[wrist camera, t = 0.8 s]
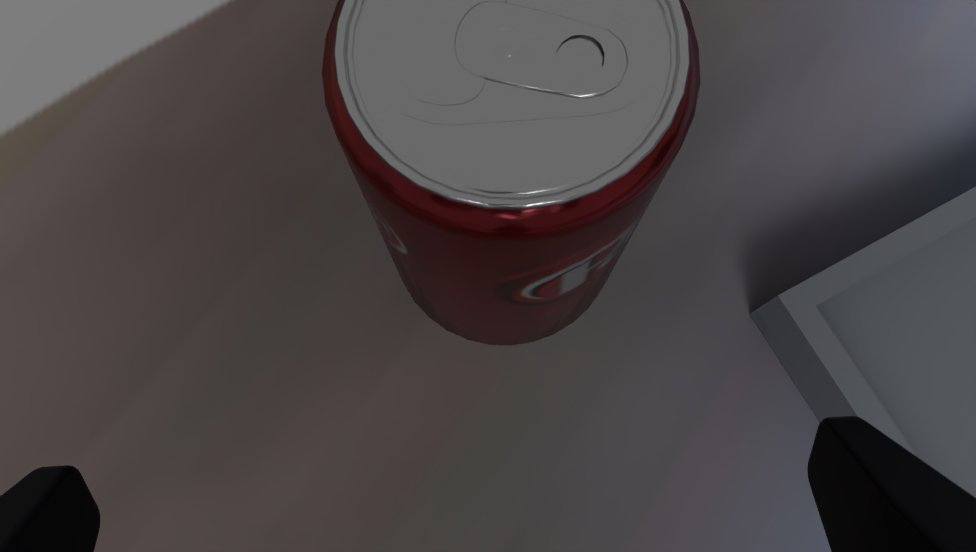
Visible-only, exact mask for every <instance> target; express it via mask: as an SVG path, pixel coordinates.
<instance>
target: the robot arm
mask: <svg viewBox="0 0 976 552" xmlns="http://www.w3.org/2000/svg"><path fill="white" fill-rule="evenodd" d="M808 478H809V483H810V486H811V490H812V493H813V496H814V499H815V502H816V505H817V508H818V511H819V514H820V517H821V520H822V523H823V527H824V530H825V533H826V536H827V539H828V542H829V545H830V548H831V551H832V552H976V497H974V496H973V495H971V494H970V493H968V492H967V491H965V490H964V489H963V488H961V487H960V486H958V485H957V484H955V483H954V482H953V481H951V480H950V479H948V478H947V477H945V476H944V475H943V474H941V473H940V472H938V471H937V470H935V469H934V468H933V467H931V466H930V465H928V464H927V463H925V462H924V461H923V460H921V459H920V458H918V457H917V456H915V455H914V454H913V453H911V452H910V451H908V450H907V449H905V448H904V447H903V446H901V445H900V444H898V443H897V442H895V441H894V440H892V439H891V438H890V437H888V436H887V435H885V434H884V433H882V432H881V431H880V430H878V429H877V428H875V427H874V426H872V425H871V424H870V423H868V422H867V421H865V420H864V419H862V418H860V417H857V416H840V417H827V418H824V419H823V420H822V421H821V422H820V424H819V426H818V430H817V433H816V437H815V440H814V444H813V447H812V451H811V454H810V458H809V462H808ZM99 528H100V513H99V509H98V506H97V504H96V502H95V500H94V498H93V496H92V495H91V493H90V491H89V489H88V487H87V485H86V483H85V481H84V479H83V477H82V475H81V473H80V472H79V470H78V469H76V468H75V467H73V466H69V465H66V466H50V467H41V468H38V469H36V470H34V471H32V472H31V473H29V474H28V475H27V476H25V477H24V478H23V479H22V480H20V481H19V482H18V483H17V484H15V485H14V486H13V487H12V488H10V489H9V490H8V491H6V492H5V493H4V494H3V495H1V496H0V552H94V548H95V545H96V541H97V537H98V533H99Z"/></svg>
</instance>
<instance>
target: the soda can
mask: <svg viewBox="0 0 976 552" xmlns="http://www.w3.org/2000/svg"><path fill="white" fill-rule="evenodd" d="M322 77H323V86H324V94H325V103H326V107H327V110H328V113H329V116H330V119H331V122H332V124H333V127H334V130H335V133H336V136H337V138H338V141H339V143H340V145H341V147H342V149H343V152H344V154H345V156H346V158H347V160H348V163H349V165H350V167H351V169H352V171H353V174H354V176H355V178H356V180H357V182H358V185H359V187H360V189H361V191H362V193H363V196H364V198H365V200H366V202H367V204H368V207H369V209H370V211H371V213H372V215H373V218H374V220H375V222H376V224H377V226H378V228H379V231H380V233H381V235H382V237H383V239H384V242H385V244H386V246H387V248H388V250H389V253H390V255H391V257H392V259H393V261H394V264H395V266H396V268H397V270H398V272H399V275H400V277H401V279H402V281H403V283H404V285H405V287H406V288H407V290H408V292H409V293H410V295H411V297H412V298H413V300H414V302H415V303H416V304H417V305H418V306H419V307H420V308H421V309H422V310H423V311H424V312H425V313H426V315H427V316H428V317H429V318H431V319H432V320H433V321H435V322H436V323H438V324H439V325H440V326H442V327H443V328H445V329H446V330H448V331H450V332H452V333H454V334H456V335H459V336H461V337H463V338H465V339H467V340H472V341H476V342H480V343H485V344H489V345H516V344H523V343H529V342H534V341H537V340H539V339H542V338H545V337H547V336H550V335H553V334H555V333H557V332H558V331H560V330H562V329H563V328H565V327H566V326H568V325H570V324H571V323H573V322H574V321H575V320H576V319H577V318H578V317H579V316H580V315H581V314H583V313H584V312H585V311H586V310H587V309H588V308H589V307H590V305H591V304H592V302H593V301H594V300H595V298H596V297H597V295H598V294H599V292H600V291H601V289H602V288H603V286H604V284H605V282H606V281H607V279H608V277H609V275H610V273H611V272H612V270H613V268H614V266H615V264H616V263H617V261H618V259H619V257H620V255H621V254H622V252H623V250H624V248H625V247H626V245H627V243H628V241H629V239H630V238H631V236H632V234H633V232H634V230H635V229H636V227H637V225H638V223H639V221H640V220H641V218H642V216H643V214H644V213H645V211H646V209H647V207H648V205H649V204H650V202H651V200H652V198H653V196H654V195H655V193H656V191H657V189H658V188H659V186H660V184H661V182H662V180H663V179H664V177H665V175H666V173H667V171H668V170H669V168H670V166H671V164H672V162H673V161H674V159H675V157H676V155H677V154H678V152H679V150H680V148H681V146H682V144H683V141H684V139H685V137H686V134H687V132H688V130H689V127H690V125H691V122H692V120H693V118H694V115H695V110H696V104H697V98H698V93H699V87H700V64H699V48H698V43H697V40H696V36H695V32H694V28H693V25H692V21H691V17H690V14H689V11H688V9H687V7H686V5H685V3H684V1H683V0H339V1H338V3H337V6H336V9H335V12H334V15H333V18H332V21H331V24H330V26H329V29H328V32H327V36H326V39H325V48H324V57H323V67H322Z"/></svg>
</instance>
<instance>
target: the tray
mask: <svg viewBox="0 0 976 552" xmlns="http://www.w3.org/2000/svg"><path fill="white" fill-rule="evenodd" d="M750 315H751V317H752V318H753V320H754V321H755V323H756V324H757V326H758V327H759V329H760V330H761V332H762V334H763V335H764V337H765V338H766V340H767V341H768V343H769V344H770V346H771V347H772V349H773V351H774V352H775V354H776V355H777V357H778V358H779V360H780V361H781V363H782V364H783V366H784V368H785V369H786V371H787V372H788V374H789V375H790V377H791V378H792V380H793V381H794V383H795V385H796V386H797V388H798V389H799V391H800V392H801V394H802V395H803V397H804V398H805V400H806V402H807V403H808V405H809V406H810V408H811V409H812V411H813V412H814V414H815V415H816V417H817V419H818V420H819V422H821V421H822V420H823V419H824V418H827V417H840V416H857V417H860V418H862V419H864V420H865V421H867V422H868V423H870V424H871V425H872V426H874V427H875V428H877V429H878V430H880V431H881V432H882V433H884V434H885V435H887V436H888V437H890V438H891V439H892V440H894V441H895V442H897V443H898V444H900V445H901V446H903V447H904V448H905V449H907V450H908V451H910V452H911V453H913V454H914V455H915V456H917V457H918V458H920V459H921V460H923V461H924V462H925V463H927V464H928V465H930V466H931V467H933V468H934V469H935V470H937V471H938V472H940V473H941V474H943V475H944V476H945V477H947V478H948V479H950V480H951V481H953V482H954V483H955V484H957V485H958V486H960V487H961V488H963V489H964V490H965V491H967V492H968V493H970V494H971V495H973V496H974V497H976V187H974V188H972V189H970V190H968V191H967V192H965V193H963V194H961V195H959V196H957V197H956V198H954V199H952V200H950V201H948V202H947V203H945V204H943V205H941V206H939V207H938V208H936V209H934V210H932V211H930V212H928V213H927V214H925V215H923V216H921V217H919V218H918V219H916V220H914V221H912V222H910V223H908V224H907V225H905V226H903V227H901V228H899V229H898V230H896V231H894V232H892V233H890V234H888V235H887V236H885V237H883V238H881V239H879V240H878V241H876V242H874V243H872V244H870V245H868V246H867V247H865V248H863V249H861V250H859V251H858V252H856V253H854V254H852V255H850V256H848V257H847V258H845V259H843V260H841V261H839V262H838V263H836V264H834V265H832V266H830V267H828V268H827V269H825V270H823V271H821V272H819V273H818V274H816V275H814V276H812V277H810V278H809V279H807V280H805V281H803V282H801V283H799V284H798V285H796V286H794V287H792V288H790V289H789V290H787V291H785V292H783V293H781V294H779V295H778V296H776V297H775V298H773V299H772V300H770V301H769V302H767V303H765V304H764V305H762V306H761V307H759V308H758V309H756V310H755V311H753V312H752V313H750Z"/></svg>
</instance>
